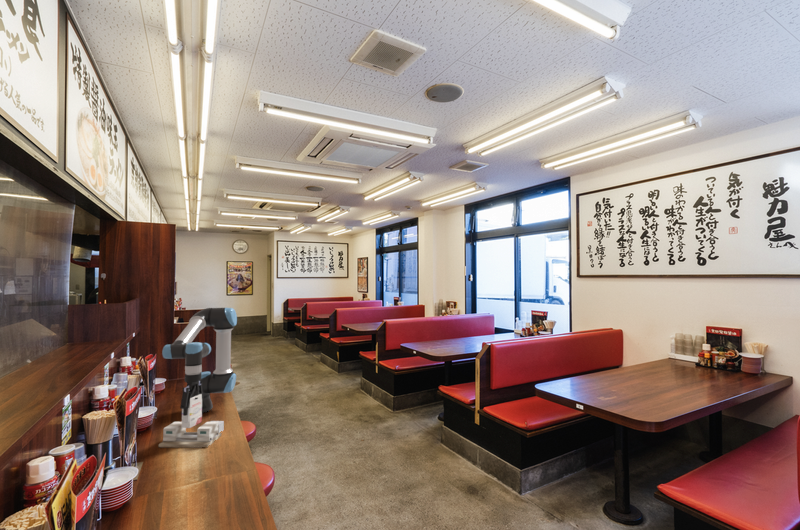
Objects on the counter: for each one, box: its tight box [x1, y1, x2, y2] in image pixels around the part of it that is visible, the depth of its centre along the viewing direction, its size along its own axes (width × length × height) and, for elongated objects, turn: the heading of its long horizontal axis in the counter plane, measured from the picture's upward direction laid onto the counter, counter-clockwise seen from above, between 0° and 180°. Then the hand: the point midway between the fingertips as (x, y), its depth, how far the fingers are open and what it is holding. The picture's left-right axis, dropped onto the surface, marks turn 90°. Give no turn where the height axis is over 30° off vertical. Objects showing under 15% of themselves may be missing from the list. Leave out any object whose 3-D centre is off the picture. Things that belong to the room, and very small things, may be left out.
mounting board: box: [158, 421, 223, 448], centre depth 186 cm, size 14×24×8 cm, turn 90°
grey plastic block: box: [209, 420, 225, 433], centre depth 198 cm, size 5×7×5 cm
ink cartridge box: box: [181, 394, 203, 429], centre depth 187 cm, size 9×5×15 cm, turn 169°
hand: (191, 417), depth 187 cm, fingers closed on ink cartridge box, 9 cm apart
